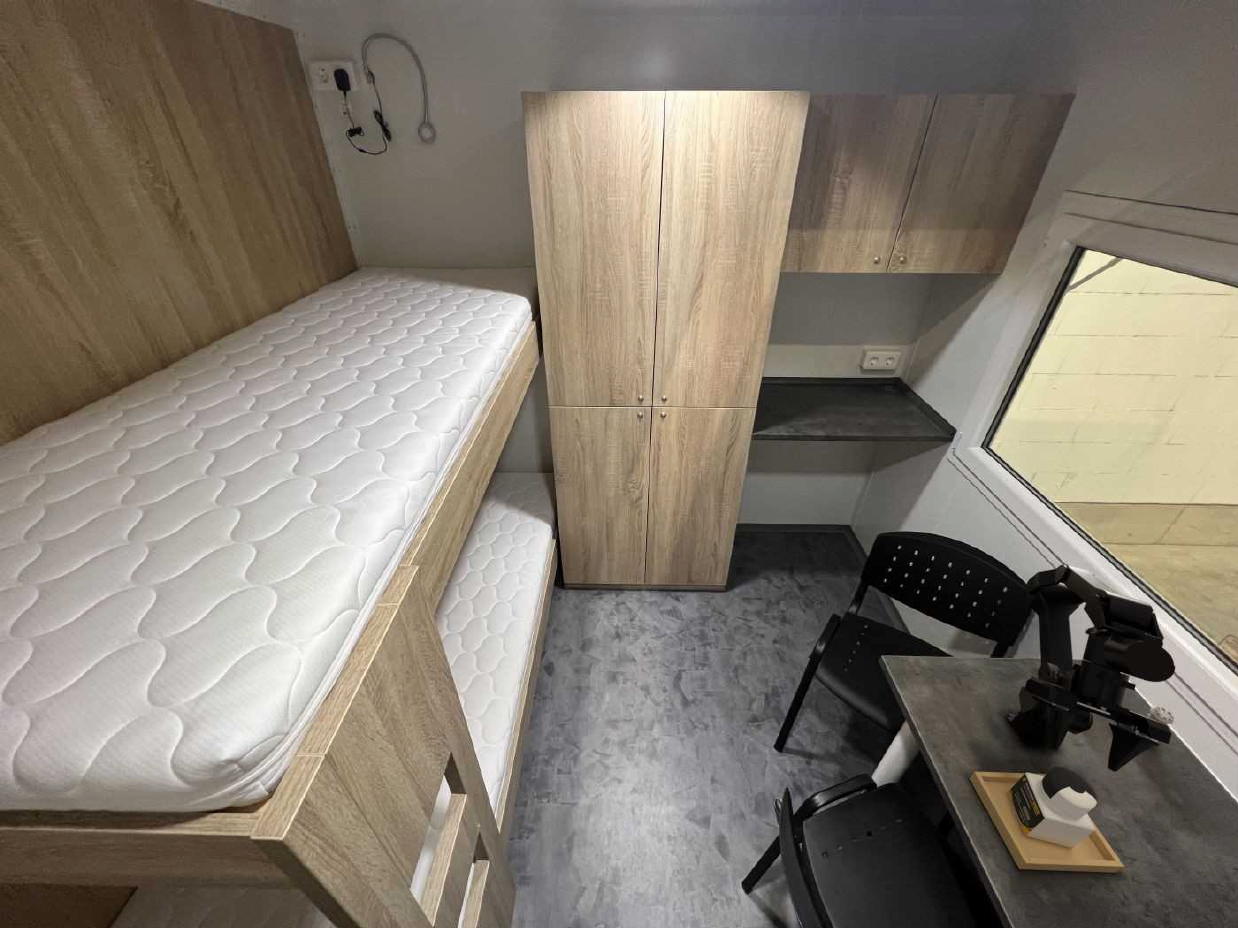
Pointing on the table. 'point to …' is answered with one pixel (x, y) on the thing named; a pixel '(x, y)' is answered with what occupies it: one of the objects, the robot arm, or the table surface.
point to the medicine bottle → (1054, 806)
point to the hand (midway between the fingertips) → (1082, 759)
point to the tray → (1036, 852)
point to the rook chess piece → (1161, 716)
